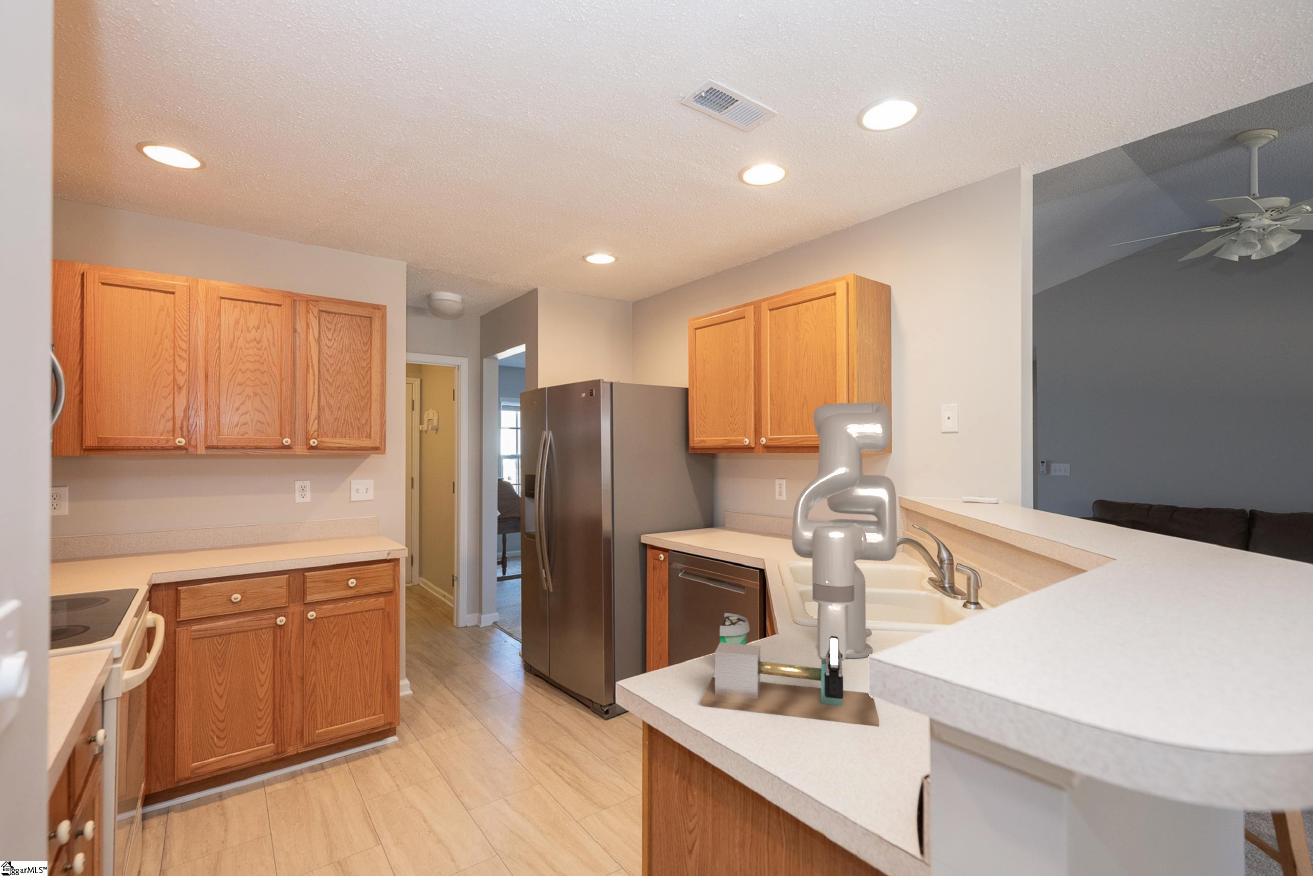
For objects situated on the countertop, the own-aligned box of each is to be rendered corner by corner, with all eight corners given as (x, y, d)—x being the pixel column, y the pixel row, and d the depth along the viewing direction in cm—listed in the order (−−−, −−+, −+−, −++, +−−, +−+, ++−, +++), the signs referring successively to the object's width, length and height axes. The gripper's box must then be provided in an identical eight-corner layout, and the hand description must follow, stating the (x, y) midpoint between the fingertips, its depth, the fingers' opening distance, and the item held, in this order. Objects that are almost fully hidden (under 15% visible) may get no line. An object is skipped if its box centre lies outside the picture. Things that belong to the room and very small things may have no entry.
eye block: (714, 694, 112) (715, 651, 113) (719, 683, 118) (720, 642, 118) (757, 699, 110) (757, 655, 111) (760, 687, 116) (760, 646, 116)
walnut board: (701, 705, 110) (701, 699, 110) (712, 682, 121) (712, 677, 122) (879, 726, 102) (878, 719, 102) (872, 699, 113) (872, 693, 114)
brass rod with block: (743, 693, 112) (743, 655, 112) (745, 686, 115) (746, 649, 116) (841, 706, 107) (841, 666, 108) (840, 698, 111) (841, 660, 111)
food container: (748, 675, 126) (748, 628, 126) (719, 673, 127) (719, 626, 127) (750, 657, 138) (751, 614, 138) (724, 655, 139) (724, 612, 140)
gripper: (813, 583, 119) (813, 676, 118) (811, 601, 103) (811, 708, 103) (852, 586, 117) (852, 680, 116) (857, 604, 101) (857, 713, 101)
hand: (833, 692), depth 109 cm, fingers closed on brass rod with block, 3 cm apart
